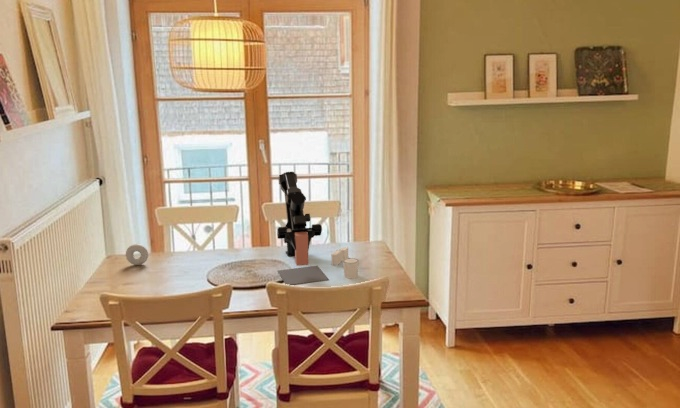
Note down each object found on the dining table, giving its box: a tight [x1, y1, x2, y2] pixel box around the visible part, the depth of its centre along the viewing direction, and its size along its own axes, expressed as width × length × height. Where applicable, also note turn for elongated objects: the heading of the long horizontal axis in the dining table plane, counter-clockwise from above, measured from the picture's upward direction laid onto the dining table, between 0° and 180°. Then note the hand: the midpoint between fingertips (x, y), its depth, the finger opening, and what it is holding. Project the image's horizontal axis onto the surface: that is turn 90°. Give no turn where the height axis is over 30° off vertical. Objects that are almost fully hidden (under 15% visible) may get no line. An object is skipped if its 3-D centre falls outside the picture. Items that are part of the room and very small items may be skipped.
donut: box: [125, 243, 149, 266], centre depth 265 cm, size 10×4×10 cm, turn 95°
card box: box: [294, 232, 310, 267], centre depth 245 cm, size 5×5×13 cm
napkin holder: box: [330, 246, 349, 266], centre depth 265 cm, size 15×11×6 cm
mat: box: [277, 265, 330, 286], centre depth 248 cm, size 18×18×1 cm
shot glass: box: [342, 257, 360, 280], centre depth 245 cm, size 7×7×7 cm
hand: (302, 249), depth 244 cm, fingers closed on card box, 5 cm apart
